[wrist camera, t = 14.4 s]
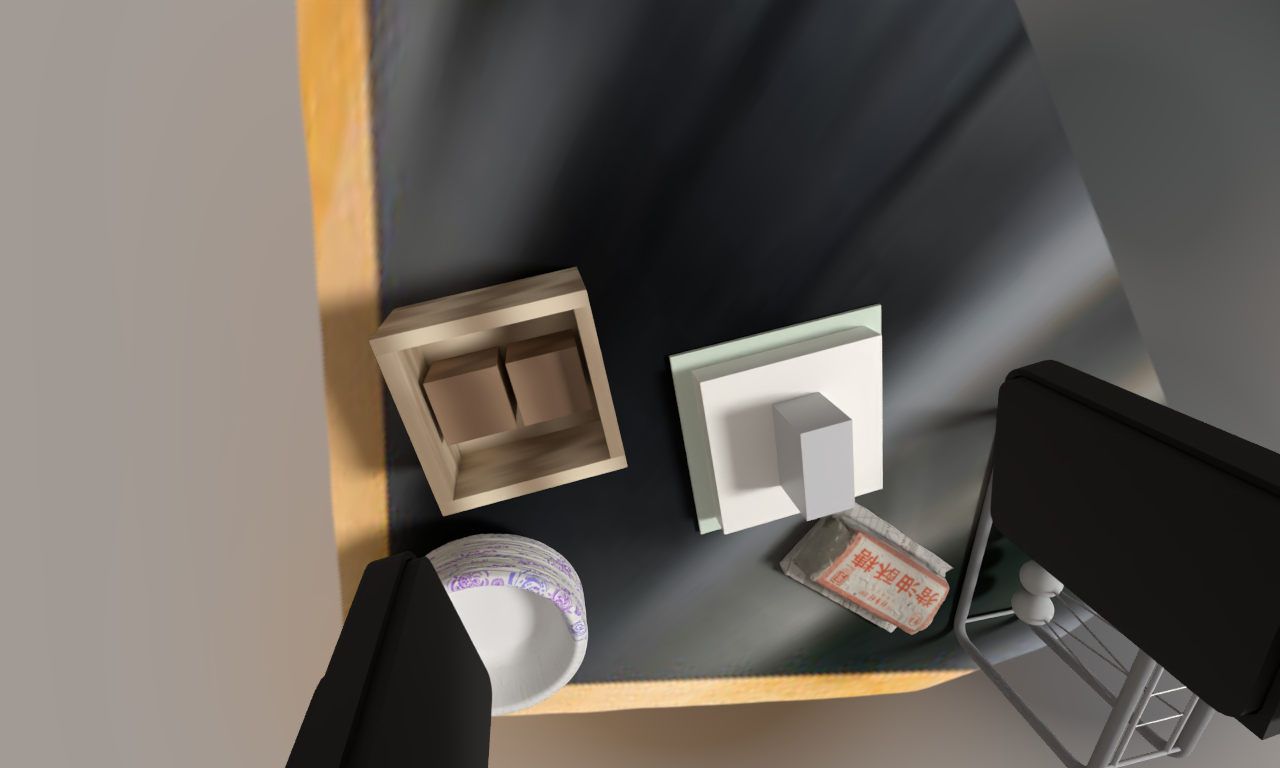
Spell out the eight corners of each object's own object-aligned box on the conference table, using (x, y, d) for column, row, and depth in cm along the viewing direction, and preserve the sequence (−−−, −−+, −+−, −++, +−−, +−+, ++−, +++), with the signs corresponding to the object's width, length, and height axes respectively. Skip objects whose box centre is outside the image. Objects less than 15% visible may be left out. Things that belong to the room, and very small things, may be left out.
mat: (878, 303, 45) (881, 304, 45) (878, 481, 53) (880, 483, 53) (668, 355, 44) (670, 357, 43) (699, 531, 51) (701, 534, 51)
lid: (864, 325, 46) (923, 356, 39) (866, 473, 52) (918, 522, 45) (691, 370, 44) (721, 411, 37) (715, 517, 50) (745, 574, 44)
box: (576, 266, 40) (586, 289, 33) (613, 421, 45) (627, 466, 39) (394, 308, 38) (368, 340, 32) (454, 462, 44) (443, 516, 38)
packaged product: (794, 597, 51) (868, 520, 49) (773, 562, 55) (840, 489, 53) (910, 658, 58) (979, 592, 56) (883, 622, 62) (946, 560, 60)
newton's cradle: (1006, 403, 52) (1217, 517, 36) (1099, 391, 54) (1341, 494, 38) (948, 633, 65) (1087, 795, 49) (1025, 617, 66) (1185, 768, 50)
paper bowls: (389, 635, 49) (366, 718, 42) (422, 494, 44) (402, 561, 37) (554, 650, 54) (559, 727, 47) (601, 523, 49) (614, 588, 42)
